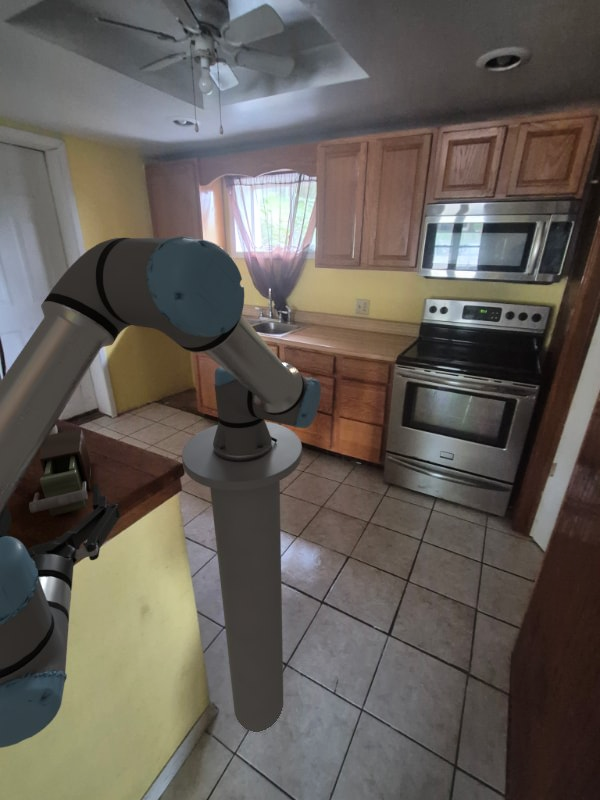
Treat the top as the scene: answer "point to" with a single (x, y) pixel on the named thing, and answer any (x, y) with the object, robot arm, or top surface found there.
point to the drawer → (61, 487)
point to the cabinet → (68, 451)
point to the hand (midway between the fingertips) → (54, 500)
